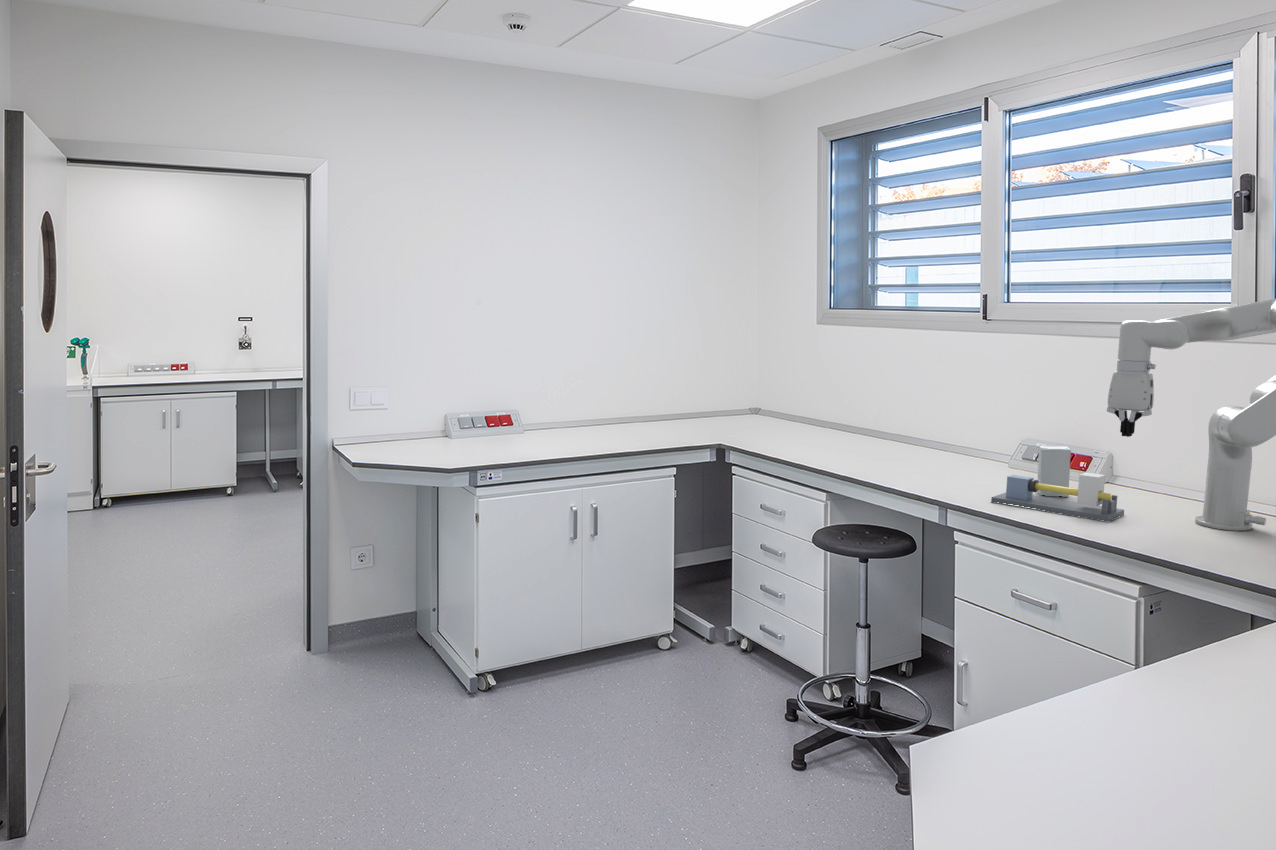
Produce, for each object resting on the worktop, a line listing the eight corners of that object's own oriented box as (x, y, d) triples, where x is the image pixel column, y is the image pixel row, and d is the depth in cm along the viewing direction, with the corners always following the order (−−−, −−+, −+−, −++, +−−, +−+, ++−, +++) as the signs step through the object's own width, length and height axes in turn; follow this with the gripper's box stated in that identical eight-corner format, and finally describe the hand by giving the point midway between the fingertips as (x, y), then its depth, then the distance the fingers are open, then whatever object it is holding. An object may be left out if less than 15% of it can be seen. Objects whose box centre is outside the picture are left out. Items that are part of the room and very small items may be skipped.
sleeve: (1102, 503, 246) (1105, 475, 245) (1096, 506, 242) (1098, 477, 241) (1083, 500, 249) (1085, 472, 248) (1077, 503, 246) (1079, 474, 245)
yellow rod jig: (1123, 514, 245) (1126, 488, 244) (1108, 522, 237) (1110, 494, 236) (1008, 496, 268) (1010, 471, 267) (991, 502, 260) (992, 477, 259)
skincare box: (1064, 493, 273) (1068, 446, 271) (1068, 498, 267) (1072, 449, 265) (1035, 492, 275) (1038, 444, 273) (1038, 496, 269) (1042, 447, 267)
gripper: (1168, 368, 232) (1162, 438, 235) (1107, 365, 243) (1101, 431, 245) (1160, 369, 227) (1153, 440, 230) (1097, 366, 238) (1092, 434, 240)
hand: (1126, 435), depth 238 cm, fingers closed
